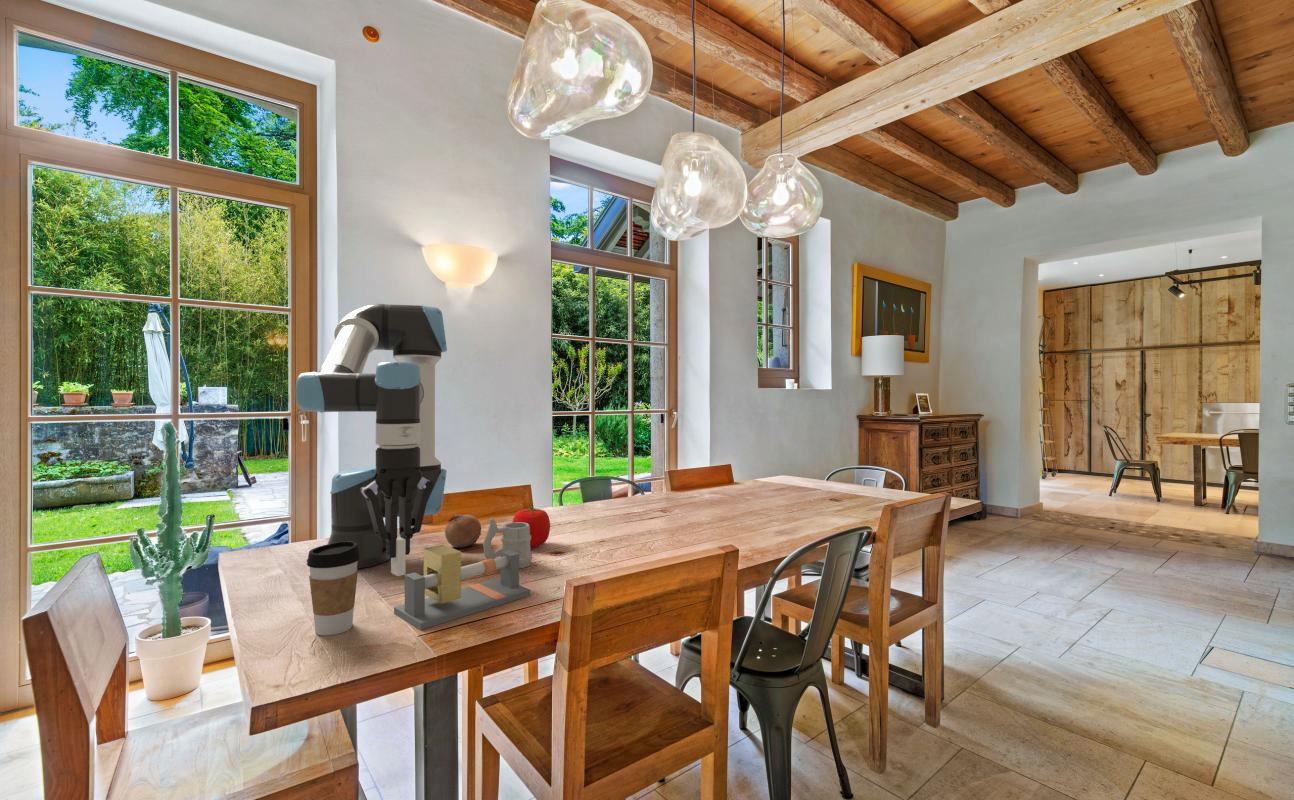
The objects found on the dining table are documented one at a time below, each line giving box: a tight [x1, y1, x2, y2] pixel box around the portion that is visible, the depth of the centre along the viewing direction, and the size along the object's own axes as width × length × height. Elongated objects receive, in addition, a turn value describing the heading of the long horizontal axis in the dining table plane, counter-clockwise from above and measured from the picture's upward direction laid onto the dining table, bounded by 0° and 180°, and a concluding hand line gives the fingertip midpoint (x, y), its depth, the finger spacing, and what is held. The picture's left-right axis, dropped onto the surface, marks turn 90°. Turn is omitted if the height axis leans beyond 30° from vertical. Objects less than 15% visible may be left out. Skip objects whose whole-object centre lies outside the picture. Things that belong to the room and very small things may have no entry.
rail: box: [393, 550, 532, 631], centre depth 115 cm, size 11×24×8 cm, turn 137°
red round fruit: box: [511, 507, 551, 549], centre depth 157 cm, size 10×11×11 cm
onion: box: [444, 514, 482, 549], centre depth 156 cm, size 10×9×10 cm
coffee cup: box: [306, 541, 360, 637], centre depth 103 cm, size 8×8×15 cm
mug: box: [482, 518, 533, 569], centre depth 140 cm, size 8×12×12 cm, turn 114°
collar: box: [423, 544, 462, 604], centre depth 111 cm, size 7×4×9 cm, turn 47°
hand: (398, 573), depth 105 cm, fingers closed
